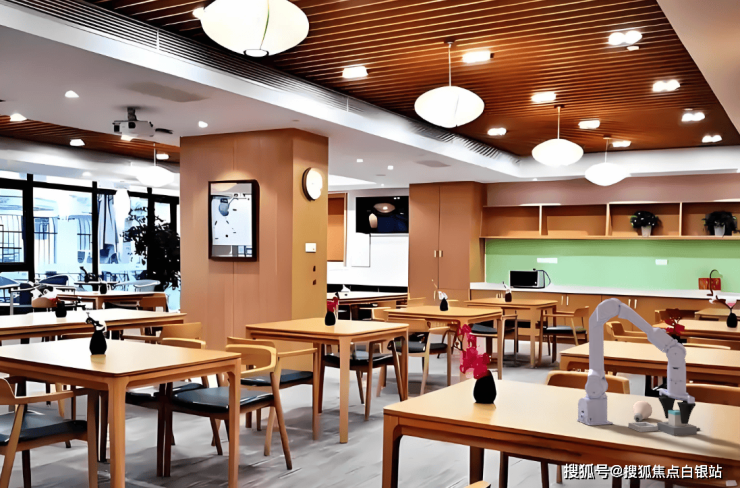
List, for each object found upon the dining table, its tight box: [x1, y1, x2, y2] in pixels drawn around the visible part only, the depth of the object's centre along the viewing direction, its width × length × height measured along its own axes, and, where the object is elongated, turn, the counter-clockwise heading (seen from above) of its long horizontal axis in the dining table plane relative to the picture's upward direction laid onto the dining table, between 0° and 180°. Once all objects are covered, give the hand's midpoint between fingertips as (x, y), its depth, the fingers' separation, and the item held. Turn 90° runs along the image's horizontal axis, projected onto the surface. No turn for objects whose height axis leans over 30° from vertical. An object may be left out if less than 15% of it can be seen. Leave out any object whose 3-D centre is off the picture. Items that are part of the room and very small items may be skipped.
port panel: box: [656, 421, 701, 436], centre depth 229 cm, size 14×8×2 cm, turn 105°
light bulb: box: [632, 400, 653, 422], centre depth 246 cm, size 7×7×11 cm
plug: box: [667, 409, 685, 426], centre depth 229 cm, size 4×3×7 cm
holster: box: [627, 421, 659, 433], centre depth 232 cm, size 7×6×2 cm
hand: (676, 420), depth 229 cm, fingers open, 7 cm apart
